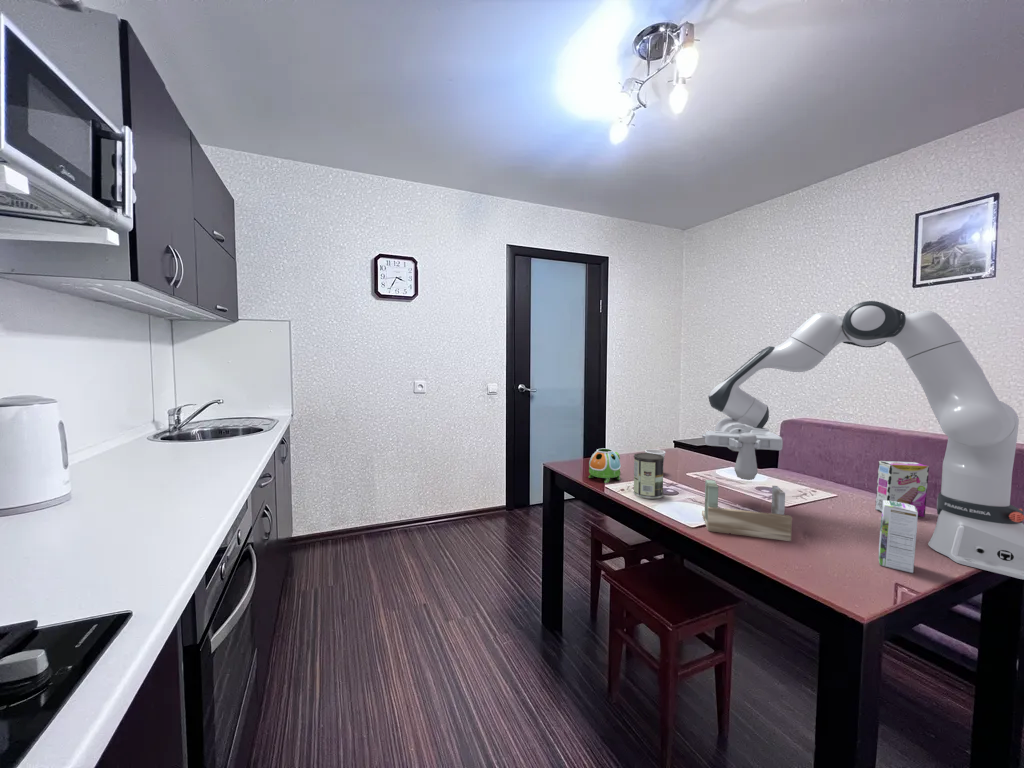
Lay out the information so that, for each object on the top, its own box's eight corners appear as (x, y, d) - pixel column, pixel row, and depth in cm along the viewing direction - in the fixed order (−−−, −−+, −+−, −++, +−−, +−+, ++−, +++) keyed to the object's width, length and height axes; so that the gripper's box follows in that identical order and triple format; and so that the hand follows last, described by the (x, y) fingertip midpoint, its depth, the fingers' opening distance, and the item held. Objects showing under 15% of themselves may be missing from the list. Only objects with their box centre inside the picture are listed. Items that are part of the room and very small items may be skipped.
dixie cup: (662, 471, 171) (663, 449, 171) (667, 477, 163) (667, 453, 163) (642, 470, 173) (643, 448, 172) (646, 476, 164) (647, 452, 164)
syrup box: (877, 556, 96) (880, 498, 95) (911, 564, 92) (915, 504, 92) (879, 565, 92) (882, 505, 91) (915, 574, 88) (919, 511, 87)
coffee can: (655, 489, 147) (656, 452, 146) (668, 498, 137) (669, 459, 136) (629, 489, 147) (629, 452, 146) (639, 499, 136) (640, 459, 136)
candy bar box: (887, 516, 122) (890, 464, 121) (874, 510, 127) (877, 460, 126) (927, 517, 121) (930, 465, 120) (912, 511, 126) (915, 461, 125)
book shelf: (701, 515, 122) (703, 476, 121) (776, 523, 116) (777, 482, 115) (708, 530, 110) (709, 487, 110) (790, 541, 104) (792, 495, 104)
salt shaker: (731, 477, 113) (733, 433, 111) (736, 472, 117) (739, 430, 115) (754, 482, 109) (757, 437, 107) (759, 477, 113) (762, 433, 111)
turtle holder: (631, 475, 165) (631, 448, 164) (609, 485, 152) (609, 455, 151) (605, 470, 174) (605, 443, 173) (582, 478, 161) (582, 450, 160)
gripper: (701, 425, 127) (708, 432, 114) (773, 428, 121) (789, 437, 108) (700, 444, 128) (707, 453, 114) (772, 448, 121) (788, 459, 108)
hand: (748, 445), depth 111 cm, fingers closed on salt shaker, 3 cm apart
